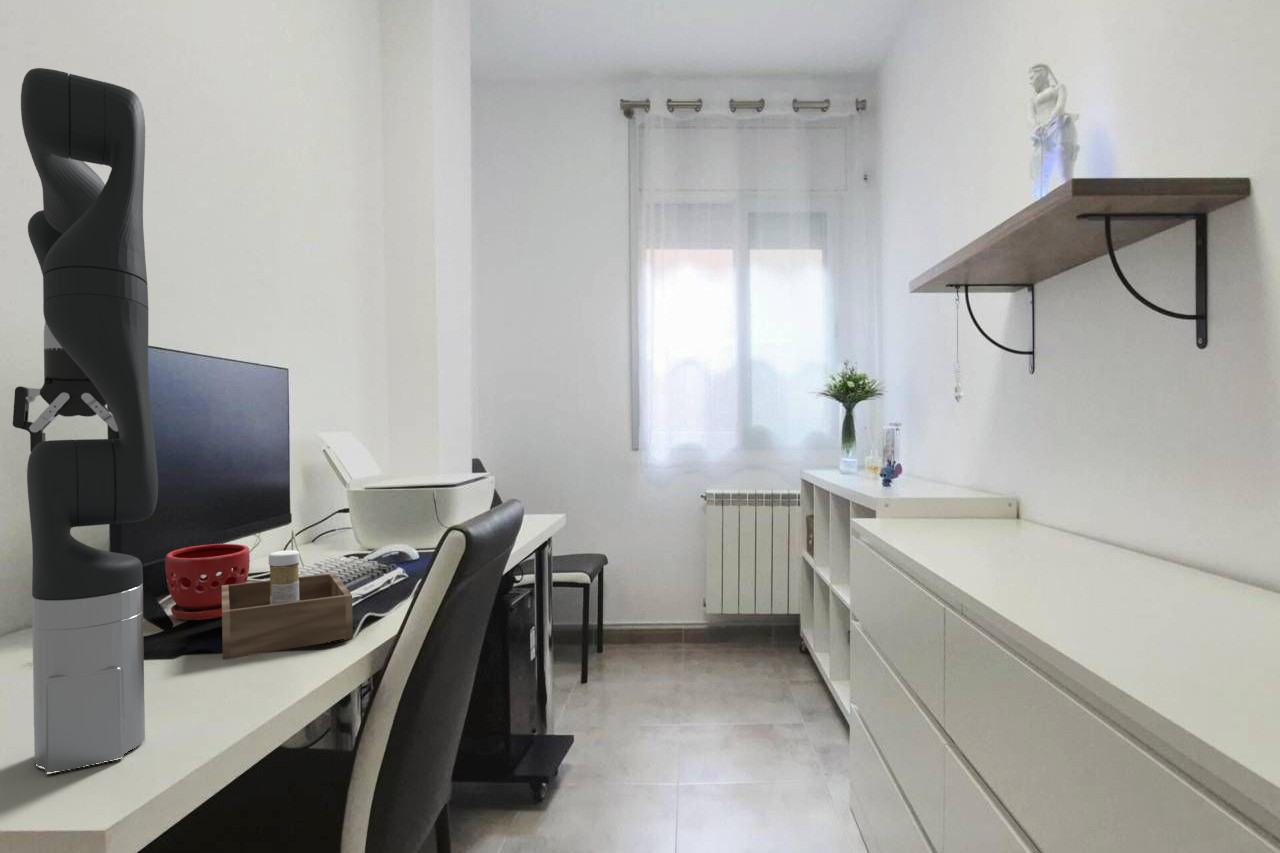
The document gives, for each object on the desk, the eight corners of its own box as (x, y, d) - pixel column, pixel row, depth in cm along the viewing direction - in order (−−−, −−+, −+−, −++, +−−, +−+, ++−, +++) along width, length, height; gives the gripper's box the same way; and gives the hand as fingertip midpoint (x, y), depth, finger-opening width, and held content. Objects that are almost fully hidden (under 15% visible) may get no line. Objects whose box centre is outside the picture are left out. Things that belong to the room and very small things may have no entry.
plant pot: (149, 620, 123) (148, 553, 123) (218, 602, 135) (218, 541, 135) (198, 628, 118) (197, 558, 118) (266, 608, 130) (265, 545, 130)
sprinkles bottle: (278, 628, 117) (277, 549, 117) (305, 628, 117) (304, 549, 117) (263, 636, 113) (262, 554, 113) (291, 636, 113) (290, 554, 113)
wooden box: (352, 638, 111) (352, 595, 111) (222, 659, 102) (222, 612, 102) (335, 610, 128) (334, 572, 128) (222, 625, 119) (221, 585, 119)
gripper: (6, 343, 96) (8, 460, 96) (133, 348, 103) (134, 456, 103) (20, 348, 102) (21, 458, 102) (138, 353, 109) (139, 455, 109)
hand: (78, 457), depth 103 cm, fingers open, 8 cm apart
